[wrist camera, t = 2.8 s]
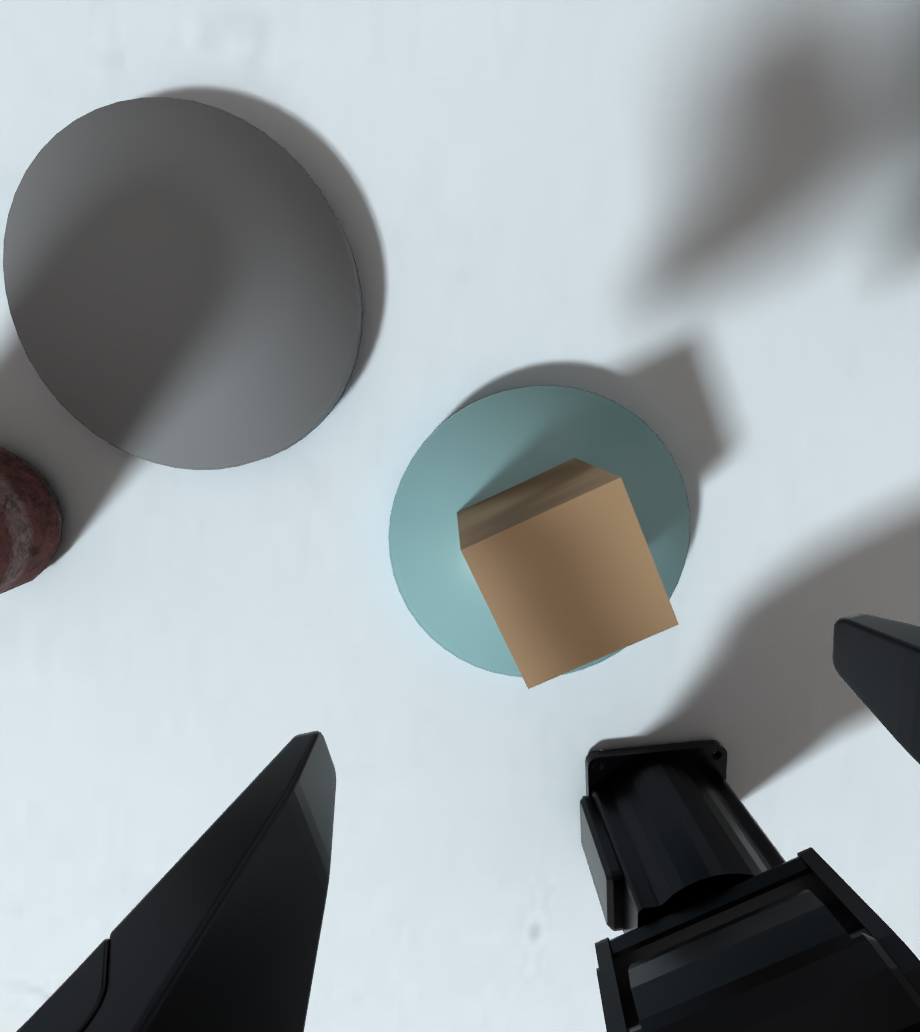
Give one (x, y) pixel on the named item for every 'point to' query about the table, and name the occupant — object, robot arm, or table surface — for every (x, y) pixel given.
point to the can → (25, 522)
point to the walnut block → (564, 569)
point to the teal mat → (501, 465)
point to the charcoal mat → (181, 284)
